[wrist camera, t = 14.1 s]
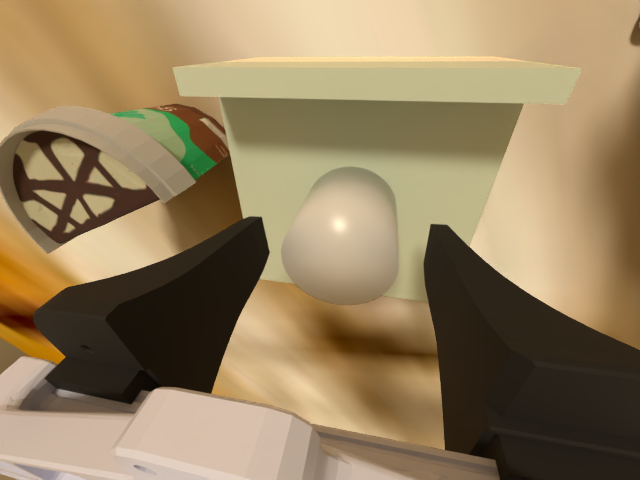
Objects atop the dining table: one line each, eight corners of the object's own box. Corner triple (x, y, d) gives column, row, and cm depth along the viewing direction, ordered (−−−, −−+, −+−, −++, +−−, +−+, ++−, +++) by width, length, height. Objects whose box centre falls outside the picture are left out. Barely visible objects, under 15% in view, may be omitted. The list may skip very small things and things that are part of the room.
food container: (205, 51, 18) (63, 58, 10) (254, 140, 21) (172, 199, 13) (98, 126, 23) (-55, 170, 15) (149, 190, 26) (43, 255, 18)
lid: (530, 61, 11) (582, 68, 8) (445, 296, 20) (455, 342, 17) (219, 61, 14) (172, 67, 11) (259, 271, 22) (238, 308, 19)
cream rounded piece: (416, 215, 16) (424, 274, 12) (347, 258, 18) (336, 318, 14) (354, 146, 14) (340, 186, 10) (290, 204, 17) (259, 254, 13)
